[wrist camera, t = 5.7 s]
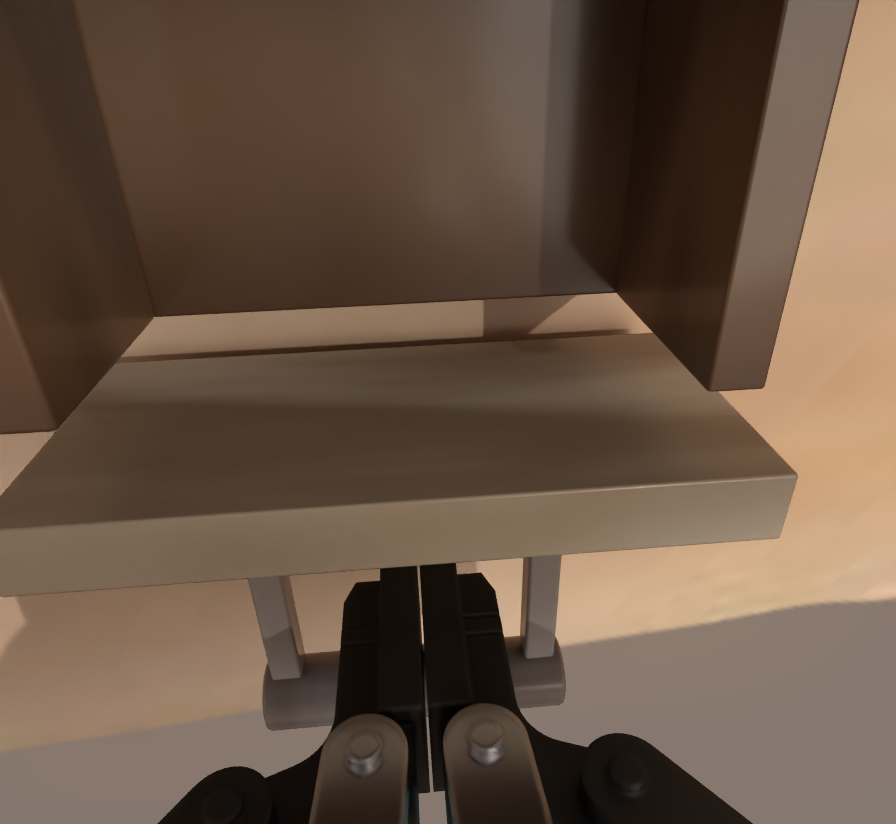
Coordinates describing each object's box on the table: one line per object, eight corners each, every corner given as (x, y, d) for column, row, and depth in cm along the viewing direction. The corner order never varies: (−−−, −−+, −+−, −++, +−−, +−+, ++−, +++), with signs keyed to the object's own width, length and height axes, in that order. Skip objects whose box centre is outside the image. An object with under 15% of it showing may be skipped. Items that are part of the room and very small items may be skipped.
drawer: (627, 566, 17) (715, 758, 12) (188, 600, 16) (110, 816, 12) (806, -633, 8) (1440, -1665, 3) (-206, -665, 7) (-1356, -2040, 2)
